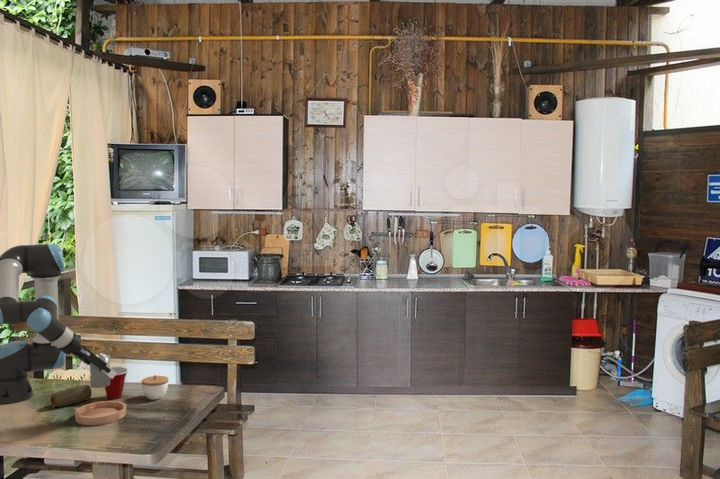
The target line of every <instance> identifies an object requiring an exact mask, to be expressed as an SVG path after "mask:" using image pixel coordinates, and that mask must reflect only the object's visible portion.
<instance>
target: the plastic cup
mask: <svg viewBox="0 0 720 479" xmlns="http://www.w3.org/2000/svg"><path fill="white" fill-rule="evenodd" d="M110 368H111V369H113V370H114V371H115V372H116V373H117V374H116V375H115V376H114V378H113V379H111V378H110V385H109V386H106V387H104V389H105V393H106V394H105V395H106V398H107V399H108V400H118V399H121V398H122V397H123V390H124V387H125V382H126V381H125V380H126V376H127V373H128V372H129V369H128V368H126V367H125V366H124V367H123V366H110Z"/></svg>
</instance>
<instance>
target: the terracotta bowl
mask: <svg viewBox="0 0 720 479" xmlns="http://www.w3.org/2000/svg"><path fill="white" fill-rule="evenodd" d="M126 416H127V404H126V403H124V402H122V401H118V400H116V401H115V400H106V401H95V402H92V403H88V404H84V405H81V406H80V407H78V408H76V409H75V412H74V418H75V422H76V423H77V424H79V425H83V426H102V425H109V424H111V423H114V422H118V421H119V420H122V419H123V418H125V417H126Z"/></svg>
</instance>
